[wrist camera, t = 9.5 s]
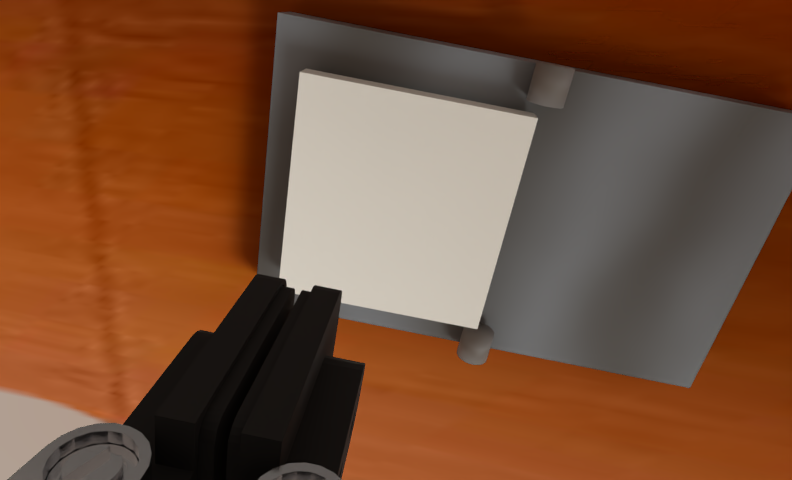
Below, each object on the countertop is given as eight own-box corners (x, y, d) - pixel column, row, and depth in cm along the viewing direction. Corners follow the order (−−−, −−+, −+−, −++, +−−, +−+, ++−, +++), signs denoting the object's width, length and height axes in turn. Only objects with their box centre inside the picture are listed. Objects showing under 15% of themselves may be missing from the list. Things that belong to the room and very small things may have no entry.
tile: (299, 71, 17) (308, 67, 18) (278, 290, 20) (286, 275, 21) (538, 118, 17) (532, 111, 18) (477, 329, 20) (475, 312, 21)
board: (800, 108, 19) (855, 125, 16) (674, 366, 23) (701, 410, 21) (290, 8, 19) (266, 9, 16) (266, 285, 23) (244, 318, 21)
